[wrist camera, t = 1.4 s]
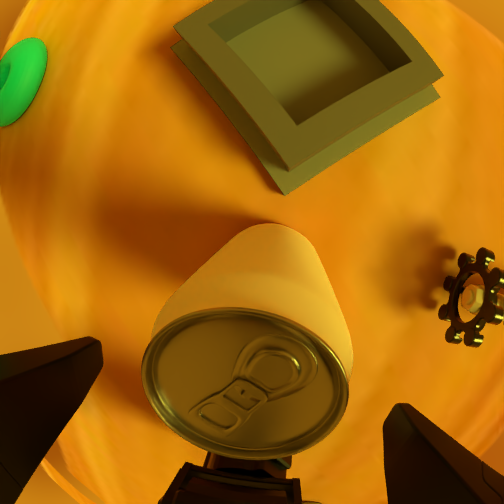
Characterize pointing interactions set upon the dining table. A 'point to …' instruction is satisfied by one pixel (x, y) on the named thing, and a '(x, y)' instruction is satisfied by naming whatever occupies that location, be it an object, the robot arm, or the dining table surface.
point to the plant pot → (310, 503)
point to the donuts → (20, 78)
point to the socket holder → (306, 76)
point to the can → (252, 350)
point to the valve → (473, 298)
